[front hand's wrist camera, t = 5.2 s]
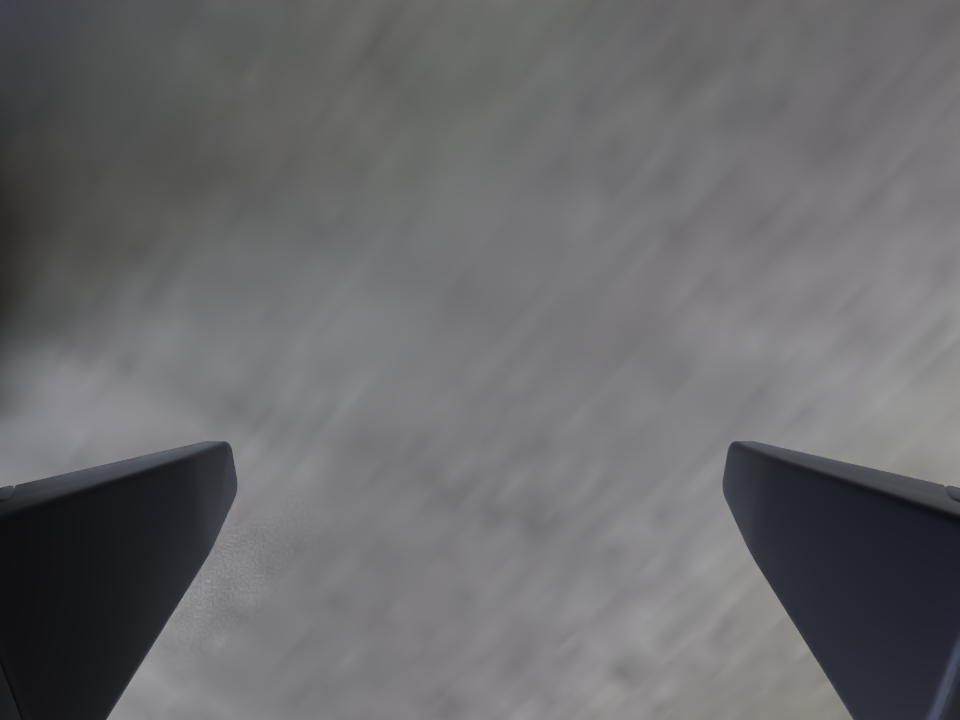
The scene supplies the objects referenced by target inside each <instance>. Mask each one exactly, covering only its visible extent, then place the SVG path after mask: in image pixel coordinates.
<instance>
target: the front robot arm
mask: <svg viewBox="0 0 960 720" xmlns="http://www.w3.org/2000/svg"><path fill="white" fill-rule="evenodd" d="M236 492H237V478H236V472H235V466H234V460H233V454H232V449H231V446H230V445H229V443H227V442H225V441H213V442H202V443H197V444H193V445H189V446H184V447H180V448H176V449H171V450H167V451H163V452H158V453H154V454H150V455H145V456H141V457H137V458H132V459H128V460H124V461H119V462H115V463H111V464H106V465H102V466H97V467H93V468H89V469H84V470H80V471H76V472H71V473H67V474H63V475H58V476H54V477H50V478H45V479H41V480H37V481H32V482H28V483H24V484H19V485H16V486H15V488H14V487H13V486H7V487H3V488H0V720H106V719H107V718H108V716H109V714H110V713H111V711H112V710H113V708H114V706H115V705H116V703H117V702H118V700H119V698H120V697H121V695H122V693H123V692H124V690H125V689H126V687H127V685H128V684H129V682H130V681H131V679H132V677H133V676H134V674H135V673H136V671H137V669H138V668H139V666H140V665H141V663H142V661H143V660H144V658H145V657H146V655H147V653H148V652H149V650H150V649H151V647H152V645H153V644H154V642H155V640H156V639H157V637H158V636H159V634H160V632H161V631H162V629H163V628H164V626H165V624H166V623H167V621H168V620H169V618H170V616H171V615H172V613H173V612H174V610H175V608H176V607H177V605H178V604H179V602H180V600H181V599H182V597H183V595H184V594H185V592H186V591H187V589H188V587H189V586H190V584H191V583H192V581H193V579H194V578H195V576H196V575H197V573H198V571H199V570H200V568H201V567H202V565H203V563H204V562H205V560H206V558H207V556H208V555H209V553H210V551H211V549H212V547H213V545H214V543H215V541H216V538H217V536H218V534H219V532H220V530H221V527H222V525H223V523H224V521H225V518H226V516H227V514H228V512H229V510H230V507H231V505H232V503H233V501H234V499H235V496H236ZM723 492H724V496H725V499H726V501H727V503H728V505H729V507H730V510H731V512H732V514H733V516H734V518H735V521H736V523H737V525H738V527H739V530H740V532H741V534H742V536H743V538H744V541H745V543H746V545H747V547H748V549H749V551H750V553H751V555H752V556H753V558H754V560H755V562H756V563H757V565H758V567H759V568H760V570H761V571H762V573H763V575H764V576H765V578H766V579H767V581H768V583H769V584H770V586H771V587H772V589H773V591H774V592H775V594H776V595H777V597H778V599H779V600H780V602H781V603H782V605H783V607H784V608H785V610H786V611H787V613H788V615H789V616H790V618H791V620H792V621H793V623H794V624H795V626H796V628H797V629H798V631H799V632H800V634H801V636H802V637H803V639H804V640H805V642H806V644H807V645H808V647H809V648H810V650H811V652H812V653H813V655H814V656H815V658H816V660H817V661H818V663H819V665H820V666H821V668H822V669H823V671H824V673H825V674H826V676H827V677H828V679H829V681H830V682H831V684H832V685H833V687H834V689H835V690H836V692H837V693H838V695H839V697H840V698H841V700H842V702H843V703H844V705H845V706H846V708H847V710H848V711H849V713H850V714H851V716H852V718H853V719H854V720H960V488H957V487H953V486H947V487H946V488H945V486H944V485H941V484H937V483H932V482H928V481H923V480H919V479H915V478H910V477H906V476H902V475H897V474H893V473H889V472H884V471H880V470H876V469H871V468H867V467H863V466H858V465H854V464H850V463H845V462H841V461H837V460H832V459H828V458H824V457H819V456H815V455H810V454H806V453H802V452H797V451H793V450H789V449H784V448H780V447H776V446H771V445H767V444H763V443H758V442H747V441H735V442H733V443H731V445H730V446H729V449H728V454H727V460H726V466H725V472H724V478H723Z"/></svg>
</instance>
